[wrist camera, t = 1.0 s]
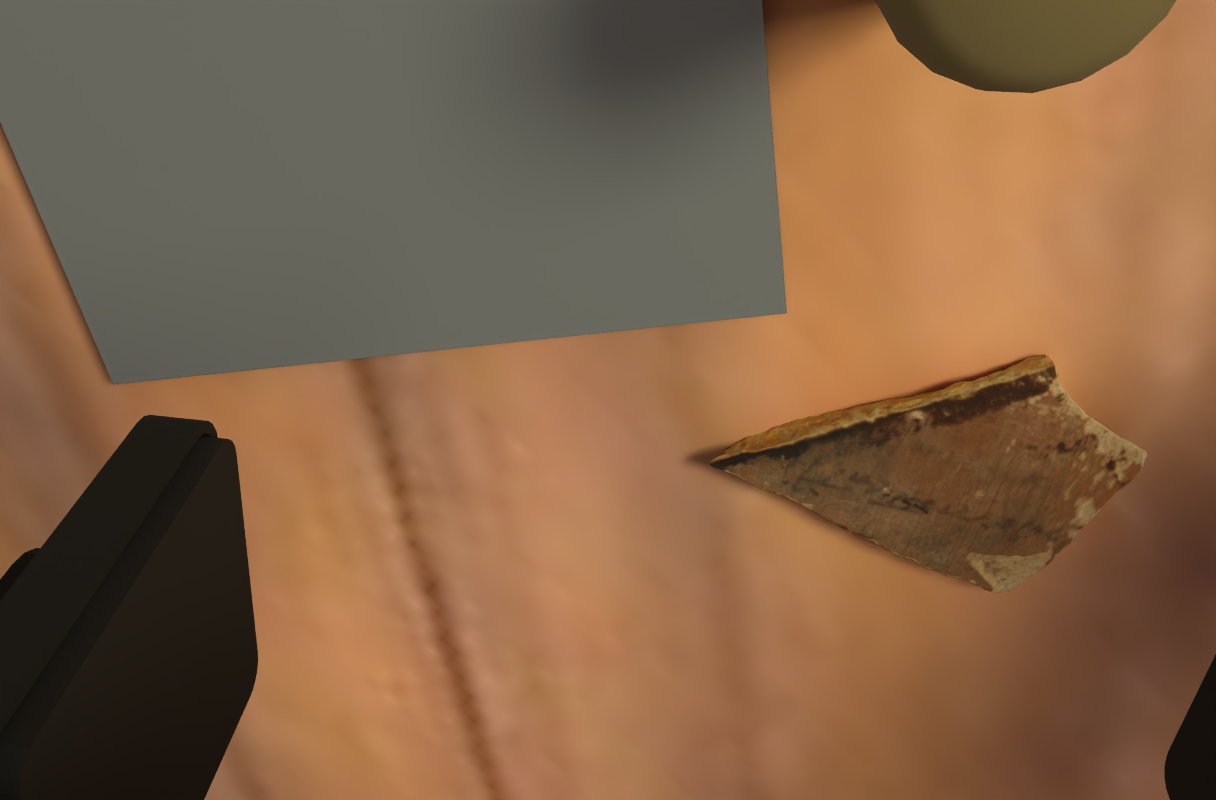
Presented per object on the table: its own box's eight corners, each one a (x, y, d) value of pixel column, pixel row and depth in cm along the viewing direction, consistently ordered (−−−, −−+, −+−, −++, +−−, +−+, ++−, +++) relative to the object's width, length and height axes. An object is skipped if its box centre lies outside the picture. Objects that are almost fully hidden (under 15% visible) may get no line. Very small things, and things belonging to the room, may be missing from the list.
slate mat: (731, -373, 24) (732, -374, 24) (784, 303, 33) (786, 313, 32) (-129, -216, 27) (-145, -214, 26) (121, 374, 35) (113, 384, 35)
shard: (707, 437, 36) (708, 471, 34) (848, 237, 32) (856, 264, 30) (993, 576, 38) (1006, 613, 36) (1156, 404, 34) (1179, 437, 33)
